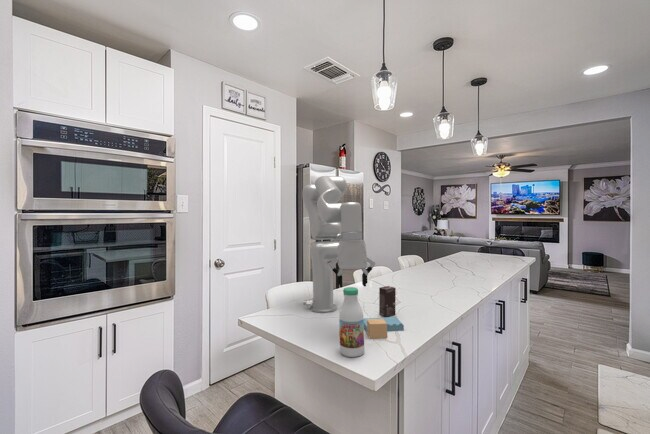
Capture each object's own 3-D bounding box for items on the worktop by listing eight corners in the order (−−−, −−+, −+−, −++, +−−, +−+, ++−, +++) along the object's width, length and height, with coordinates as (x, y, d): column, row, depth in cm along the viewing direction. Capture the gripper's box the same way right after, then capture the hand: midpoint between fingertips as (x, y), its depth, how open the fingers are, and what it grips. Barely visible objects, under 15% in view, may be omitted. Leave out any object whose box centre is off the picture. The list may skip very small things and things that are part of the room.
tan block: (370, 338, 102) (370, 324, 102) (367, 333, 107) (366, 319, 107) (387, 337, 102) (386, 323, 102) (383, 332, 107) (383, 318, 107)
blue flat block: (366, 332, 108) (366, 325, 108) (361, 323, 117) (361, 317, 117) (403, 330, 109) (403, 324, 109) (396, 321, 118) (396, 316, 118)
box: (386, 318, 123) (385, 289, 123) (379, 315, 126) (378, 287, 127) (396, 315, 126) (395, 287, 126) (389, 312, 130) (388, 285, 130)
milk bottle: (338, 347, 95) (336, 286, 96) (361, 346, 96) (360, 285, 96) (341, 358, 88) (340, 291, 88) (366, 357, 88) (365, 290, 89)
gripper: (328, 238, 100) (329, 289, 100) (378, 236, 101) (379, 287, 101) (326, 237, 108) (327, 284, 107) (372, 235, 109) (374, 283, 109)
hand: (352, 285), depth 104 cm, fingers open, 7 cm apart
